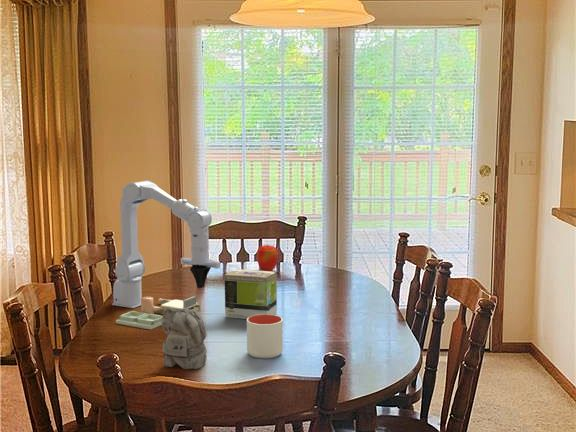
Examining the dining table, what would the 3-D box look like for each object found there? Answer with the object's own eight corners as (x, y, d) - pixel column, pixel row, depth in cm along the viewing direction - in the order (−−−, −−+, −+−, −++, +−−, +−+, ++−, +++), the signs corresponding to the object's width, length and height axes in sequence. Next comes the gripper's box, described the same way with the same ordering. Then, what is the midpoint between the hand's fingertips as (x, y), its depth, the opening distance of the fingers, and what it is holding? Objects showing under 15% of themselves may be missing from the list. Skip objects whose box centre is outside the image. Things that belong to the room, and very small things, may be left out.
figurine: (174, 355, 191) (173, 303, 189) (211, 359, 188) (211, 306, 186) (157, 368, 182) (155, 313, 180) (196, 373, 179) (195, 317, 176)
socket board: (115, 323, 221) (115, 316, 220) (134, 316, 229) (134, 309, 228) (150, 329, 214) (150, 322, 214) (168, 321, 222) (168, 315, 222)
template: (142, 310, 235) (142, 305, 235) (160, 303, 244) (160, 298, 244) (183, 317, 228) (182, 311, 227) (200, 309, 236) (200, 304, 236)
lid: (160, 306, 233) (160, 297, 232) (175, 300, 240) (174, 292, 239) (184, 310, 228) (183, 301, 228) (198, 304, 235) (197, 295, 235)
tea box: (277, 313, 232) (277, 270, 230) (266, 322, 222) (266, 277, 220) (236, 309, 237) (235, 267, 234) (224, 317, 227) (223, 274, 225)
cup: (246, 348, 198) (246, 314, 196) (281, 347, 198) (281, 313, 197) (247, 360, 188) (247, 325, 186) (284, 359, 189) (284, 324, 187)
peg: (138, 316, 228) (138, 298, 228) (146, 313, 232) (146, 296, 231) (148, 318, 227) (148, 300, 226) (156, 314, 230) (155, 297, 229)
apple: (257, 273, 290) (257, 245, 288) (256, 269, 298) (255, 241, 297) (279, 273, 290) (279, 245, 289) (277, 268, 299) (277, 241, 298)
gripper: (174, 247, 227) (175, 287, 229) (211, 251, 220) (212, 292, 222) (187, 243, 233) (188, 282, 235) (223, 247, 226) (224, 287, 228)
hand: (200, 287), depth 229 cm, fingers closed
